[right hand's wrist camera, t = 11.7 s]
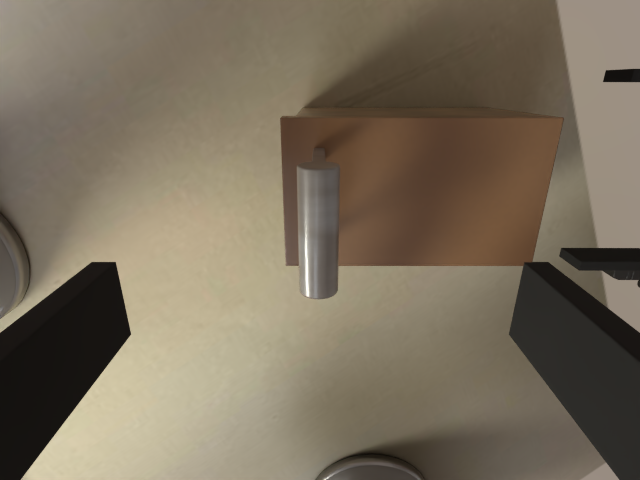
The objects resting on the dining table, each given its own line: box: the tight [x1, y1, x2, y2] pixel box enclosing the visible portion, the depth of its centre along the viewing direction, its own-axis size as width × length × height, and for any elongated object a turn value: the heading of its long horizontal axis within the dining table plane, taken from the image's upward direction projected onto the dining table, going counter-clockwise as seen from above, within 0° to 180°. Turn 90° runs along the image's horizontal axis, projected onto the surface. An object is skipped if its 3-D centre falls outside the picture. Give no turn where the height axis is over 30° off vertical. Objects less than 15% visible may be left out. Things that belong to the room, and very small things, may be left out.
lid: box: [280, 116, 564, 299], centre depth 22 cm, size 17×10×8 cm, turn 90°
